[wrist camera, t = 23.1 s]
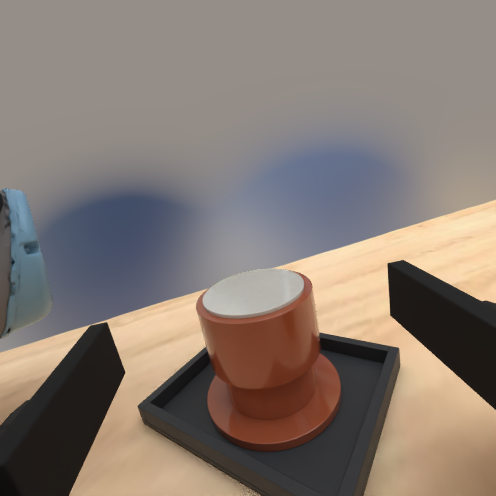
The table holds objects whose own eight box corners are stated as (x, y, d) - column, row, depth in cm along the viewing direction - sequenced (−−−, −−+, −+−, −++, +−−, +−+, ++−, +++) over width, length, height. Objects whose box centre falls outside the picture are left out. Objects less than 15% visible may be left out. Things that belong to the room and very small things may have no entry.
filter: (367, 431, 22) (354, 305, 19) (205, 468, 21) (167, 346, 19) (315, 336, 34) (302, 251, 31) (211, 359, 34) (189, 275, 31)
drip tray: (143, 423, 27) (137, 405, 27) (242, 330, 39) (239, 317, 38) (348, 548, 16) (344, 522, 16) (400, 365, 28) (399, 347, 27)
